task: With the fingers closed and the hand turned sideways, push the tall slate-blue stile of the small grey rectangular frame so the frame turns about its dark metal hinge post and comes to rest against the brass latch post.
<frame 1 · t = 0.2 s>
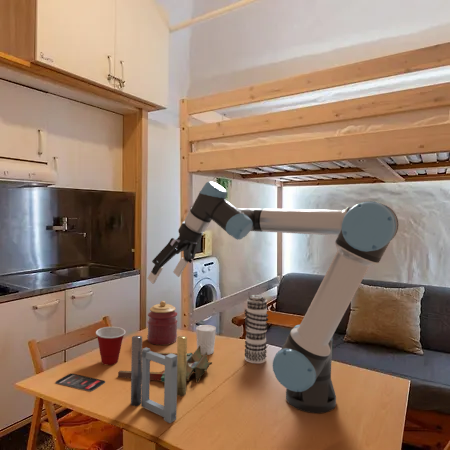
hand: (164, 277, 125), 35 cm above the table, tool tilted 35°, fingers open, 13 cm apart
miniature gate: (169, 372, 134), on the table
white cup: (205, 352, 153), on the table
plastic cup: (110, 362, 140), on the table
grey rectangular frame: (158, 382, 105), point 9 cm above the table, hinge at 0.0°
hinge post: (136, 403, 111), on the table
latch post: (181, 393, 117), on the table
smartphone: (80, 384, 123), on the table
canister: (162, 340, 165), on the table
decorative candle: (255, 359, 146), on the table
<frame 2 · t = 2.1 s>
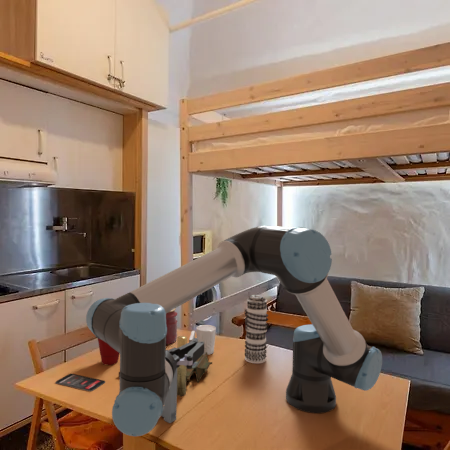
hand: (172, 335, 95), 26 cm above the table, tool horizontal, fingers open, 10 cm apart
nothing on the table moved.
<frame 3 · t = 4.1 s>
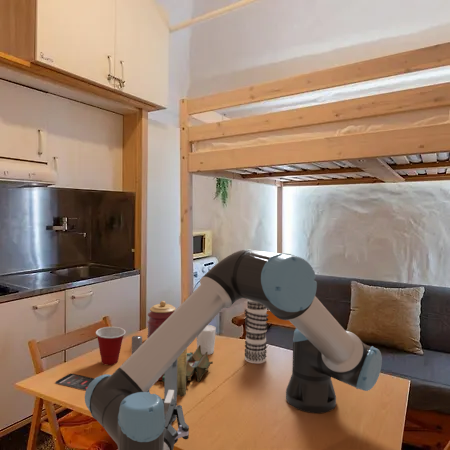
hand: (171, 394, 96), 10 cm above the table, tool horizontal, fingers closed
nothing on the table moved.
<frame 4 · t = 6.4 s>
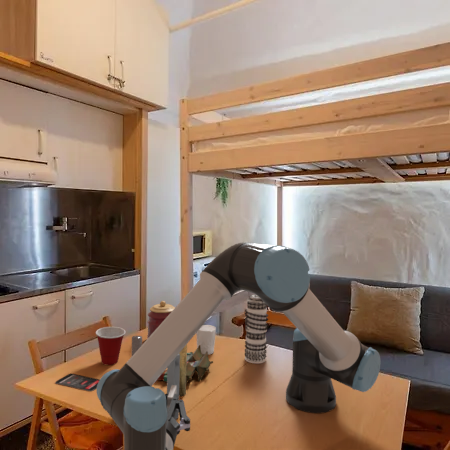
hand: (174, 390, 101), 9 cm above the table, tool horizontal, fingers closed
grey rectangular frame: (160, 381, 106), point 9 cm above the table, hinge at 4.3°, touching gripper
everything else where it was.
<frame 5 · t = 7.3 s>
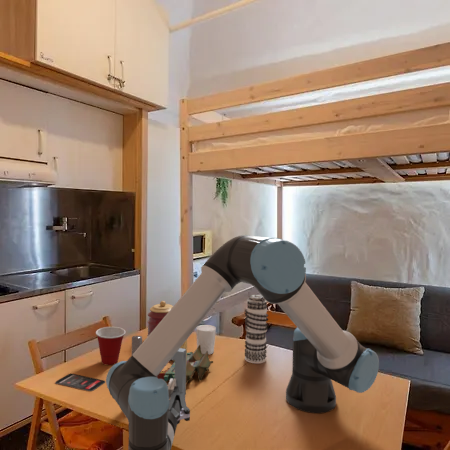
hand: (173, 383, 106), 9 cm above the table, tool horizontal, fingers closed
grey rectangular frame: (164, 378, 108), point 9 cm above the table, hinge at 19.8°, touching gripper
everything else where it was.
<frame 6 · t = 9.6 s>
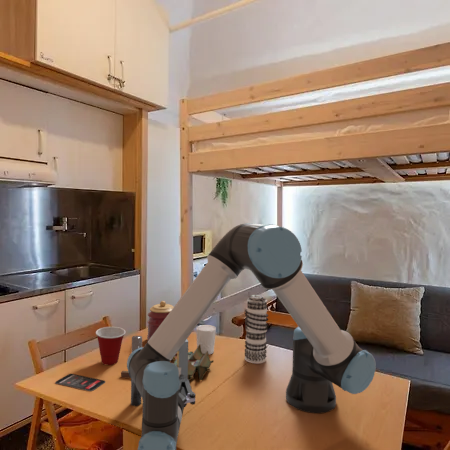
hand: (178, 371, 113), 9 cm above the table, tool horizontal, fingers closed
grey rectangular frame: (167, 370, 113), point 9 cm above the table, hinge at 52.1°, touching gripper, latch post
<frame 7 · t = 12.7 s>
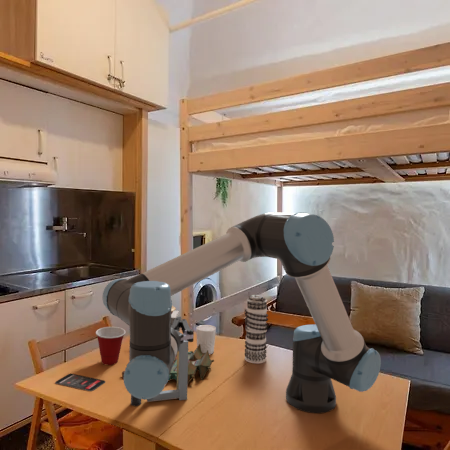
hand: (176, 315, 102), 29 cm above the table, tool horizontal, fingers closed
grey rectangular frame: (167, 370, 113), point 9 cm above the table, hinge at 52.1°, touching latch post
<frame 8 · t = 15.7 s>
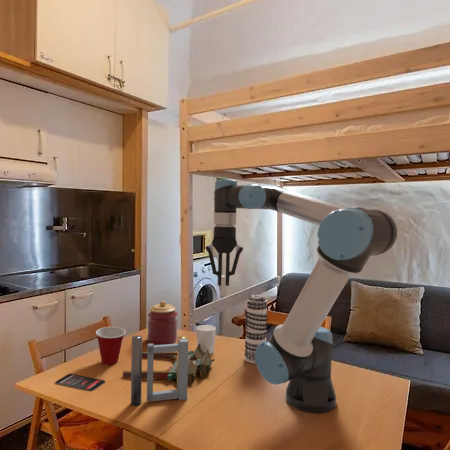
hand: (223, 295, 126), 29 cm above the table, tool pointing down, fingers closed
at the end: grey rectangular frame at +52° (first picture: +0°) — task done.
